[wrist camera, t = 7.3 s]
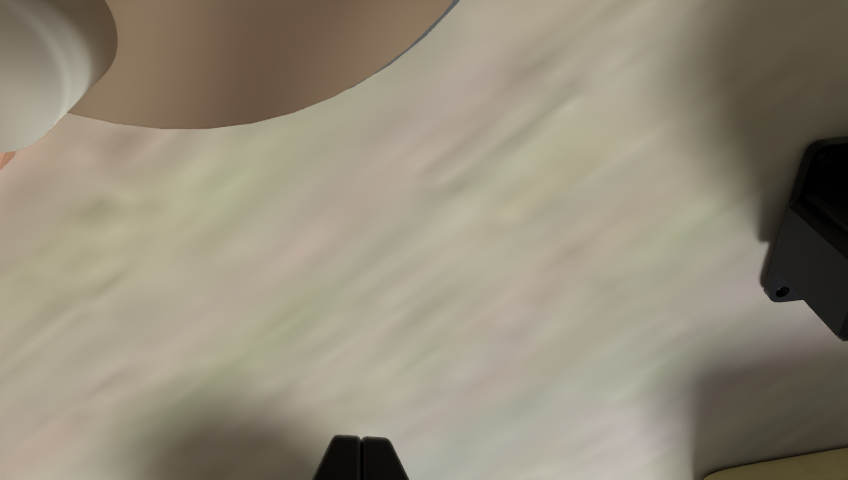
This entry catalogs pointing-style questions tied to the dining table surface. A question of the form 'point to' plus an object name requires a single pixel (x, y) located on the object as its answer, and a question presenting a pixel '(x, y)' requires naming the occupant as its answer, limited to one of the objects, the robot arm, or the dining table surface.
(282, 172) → the dining table surface
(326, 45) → the lazy susan
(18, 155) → the dining table surface
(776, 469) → the cheese
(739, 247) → the dining table surface
